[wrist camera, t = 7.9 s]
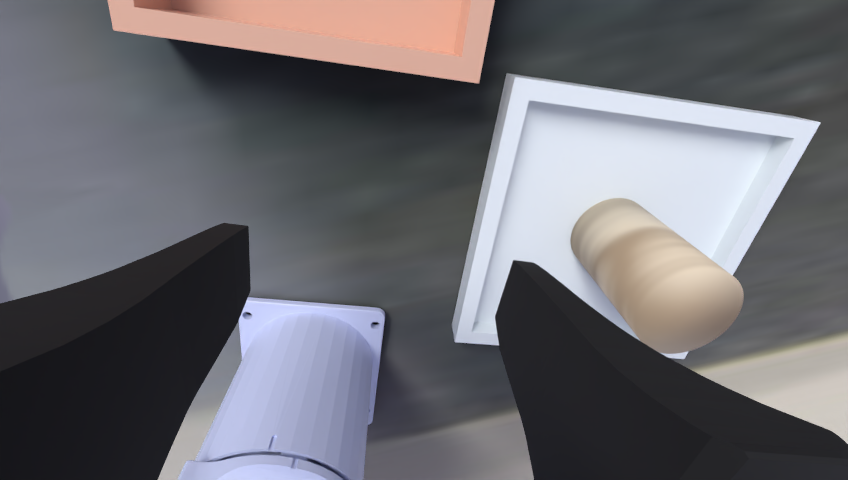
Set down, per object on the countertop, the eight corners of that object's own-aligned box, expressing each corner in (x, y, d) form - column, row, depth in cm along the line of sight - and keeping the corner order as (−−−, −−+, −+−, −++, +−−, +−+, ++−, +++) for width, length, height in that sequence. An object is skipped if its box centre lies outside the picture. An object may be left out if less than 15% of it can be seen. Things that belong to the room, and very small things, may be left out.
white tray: (669, 341, 26) (684, 359, 24) (451, 324, 24) (454, 342, 23) (791, 115, 19) (820, 122, 18) (506, 73, 18) (515, 77, 16)
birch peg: (632, 268, 22) (715, 354, 17) (562, 264, 22) (622, 352, 16) (659, 200, 20) (762, 271, 15) (582, 195, 20) (659, 267, 14)
